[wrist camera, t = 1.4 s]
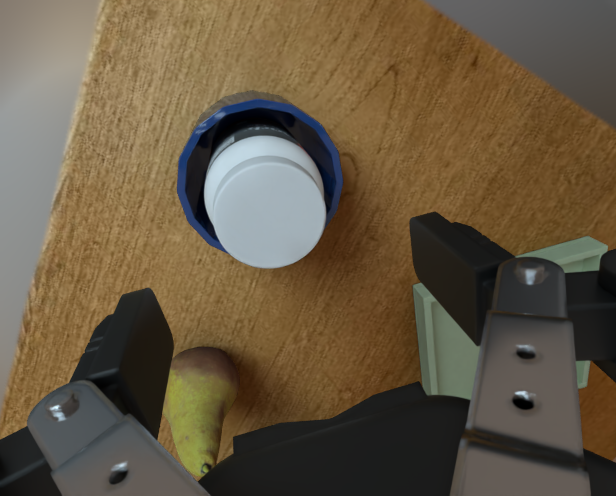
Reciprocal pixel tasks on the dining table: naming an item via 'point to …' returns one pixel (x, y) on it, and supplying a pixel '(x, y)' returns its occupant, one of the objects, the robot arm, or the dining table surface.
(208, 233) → the pen cup
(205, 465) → the fruit
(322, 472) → the robot arm
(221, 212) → the pill bottle
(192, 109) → the dining table surface
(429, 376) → the tray
